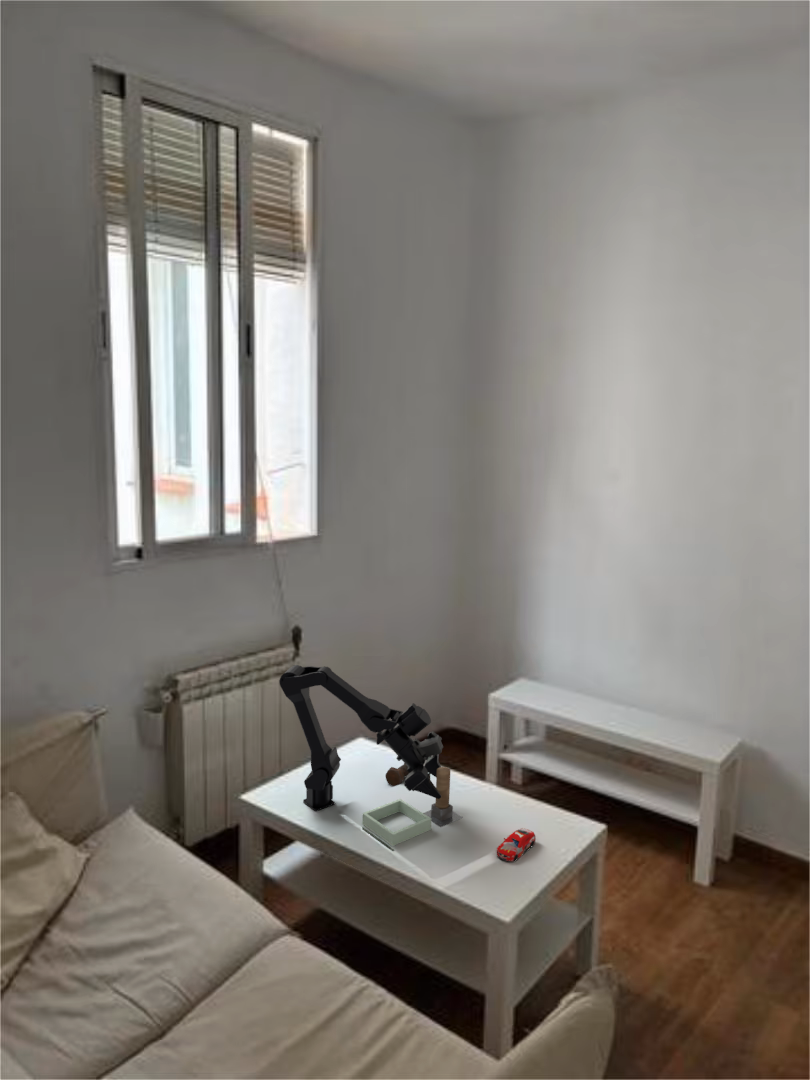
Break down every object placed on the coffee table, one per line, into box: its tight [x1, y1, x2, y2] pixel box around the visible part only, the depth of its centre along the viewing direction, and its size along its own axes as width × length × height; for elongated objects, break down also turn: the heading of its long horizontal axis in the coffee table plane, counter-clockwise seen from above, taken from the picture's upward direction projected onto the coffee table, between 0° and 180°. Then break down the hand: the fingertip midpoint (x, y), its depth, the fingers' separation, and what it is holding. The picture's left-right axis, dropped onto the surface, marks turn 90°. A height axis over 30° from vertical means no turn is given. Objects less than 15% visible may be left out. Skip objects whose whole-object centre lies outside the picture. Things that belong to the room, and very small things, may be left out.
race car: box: [495, 827, 536, 862], centre depth 198 cm, size 13×5×4 cm, turn 139°
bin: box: [361, 798, 432, 852], centre depth 205 cm, size 13×13×4 cm
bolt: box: [385, 762, 413, 787], centre depth 235 cm, size 6×5×15 cm
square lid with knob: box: [422, 809, 464, 828], centre depth 211 cm, size 8×8×4 cm
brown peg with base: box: [430, 766, 454, 821], centre depth 210 cm, size 4×4×13 cm
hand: (443, 789), depth 209 cm, fingers open, 9 cm apart
